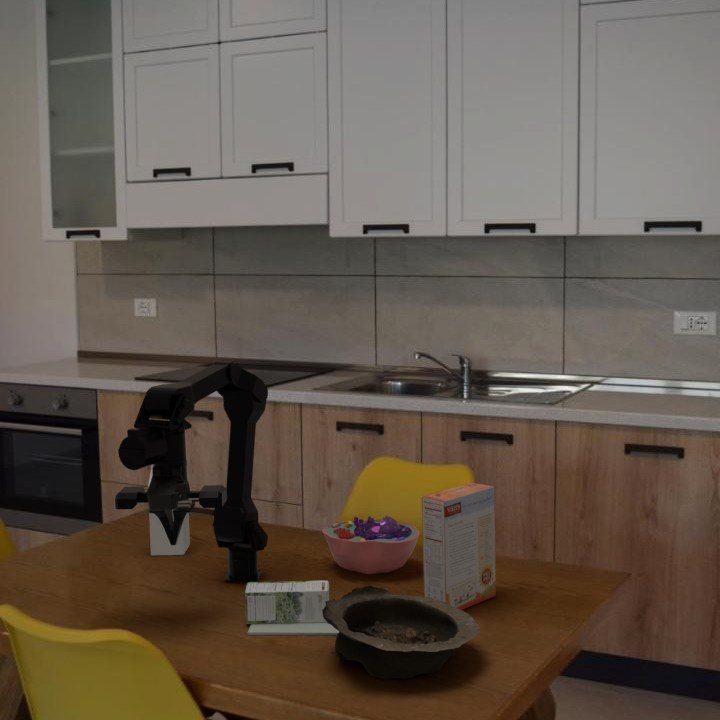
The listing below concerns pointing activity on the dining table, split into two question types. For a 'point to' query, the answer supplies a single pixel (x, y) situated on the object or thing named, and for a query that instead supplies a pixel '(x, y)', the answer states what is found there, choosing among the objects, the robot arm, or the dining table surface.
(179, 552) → the milk carton
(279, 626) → the mat
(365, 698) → the dining table surface
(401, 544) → the cell model
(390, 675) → the stone bowl
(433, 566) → the cracker box
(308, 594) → the syrup box
